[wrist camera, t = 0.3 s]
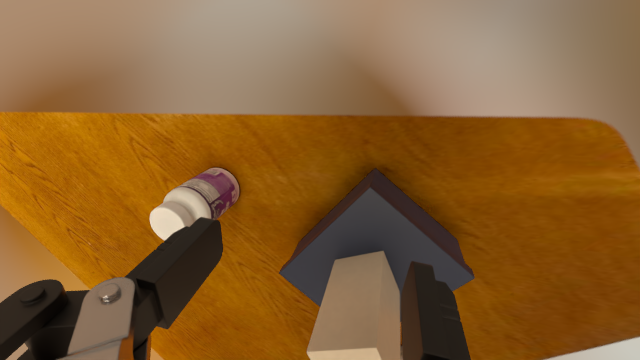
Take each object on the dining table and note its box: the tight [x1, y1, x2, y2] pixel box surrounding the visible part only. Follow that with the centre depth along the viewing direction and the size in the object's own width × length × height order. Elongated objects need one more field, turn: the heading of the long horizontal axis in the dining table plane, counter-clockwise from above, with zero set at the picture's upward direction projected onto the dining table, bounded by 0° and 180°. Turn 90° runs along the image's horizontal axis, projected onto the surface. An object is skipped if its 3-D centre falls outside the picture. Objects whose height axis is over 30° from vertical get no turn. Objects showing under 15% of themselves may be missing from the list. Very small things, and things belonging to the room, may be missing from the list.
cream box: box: [307, 251, 400, 360], centre depth 24 cm, size 5×5×10 cm
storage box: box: [279, 168, 475, 322], centre depth 31 cm, size 15×13×6 cm
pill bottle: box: [150, 168, 239, 240], centre depth 31 cm, size 5×5×10 cm
